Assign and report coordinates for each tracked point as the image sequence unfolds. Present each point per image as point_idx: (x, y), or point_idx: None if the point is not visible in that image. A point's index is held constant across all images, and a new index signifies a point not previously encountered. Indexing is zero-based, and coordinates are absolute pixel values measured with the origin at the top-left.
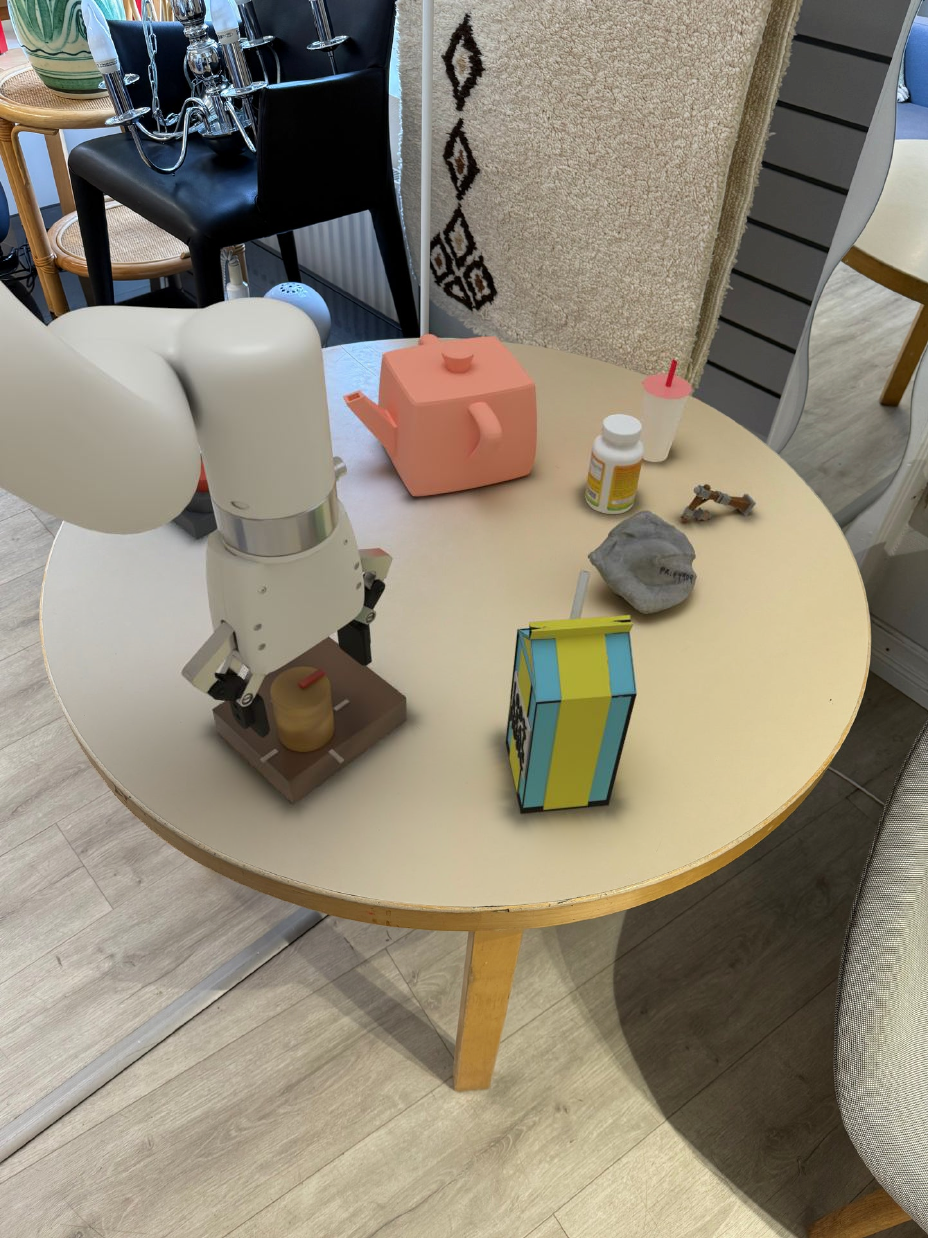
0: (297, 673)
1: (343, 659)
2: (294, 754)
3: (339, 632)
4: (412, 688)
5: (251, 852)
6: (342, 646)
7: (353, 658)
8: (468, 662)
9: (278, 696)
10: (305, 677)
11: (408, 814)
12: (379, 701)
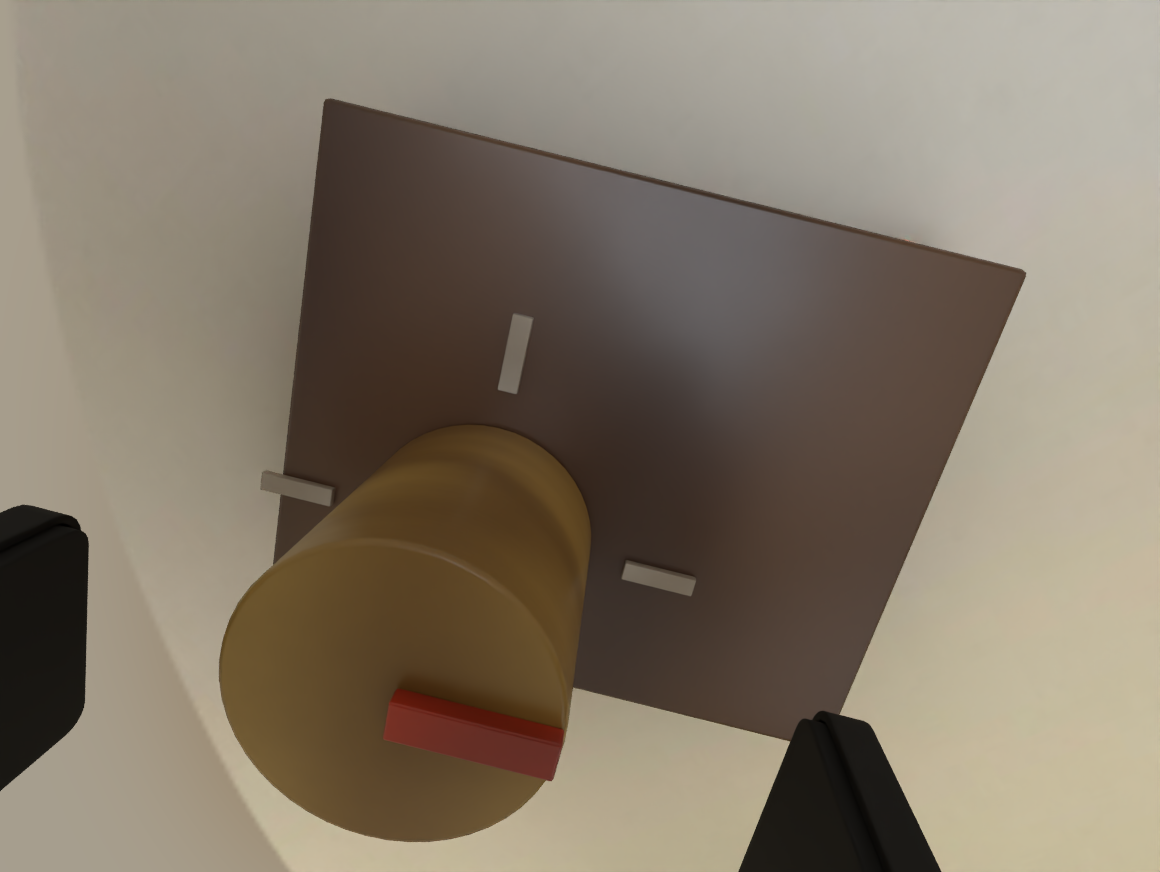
0: (466, 632)
1: (902, 438)
2: None
3: (840, 870)
4: (936, 611)
5: (145, 538)
6: (799, 771)
7: (759, 823)
8: (1141, 711)
9: (257, 642)
10: (472, 683)
11: None
12: (754, 682)
